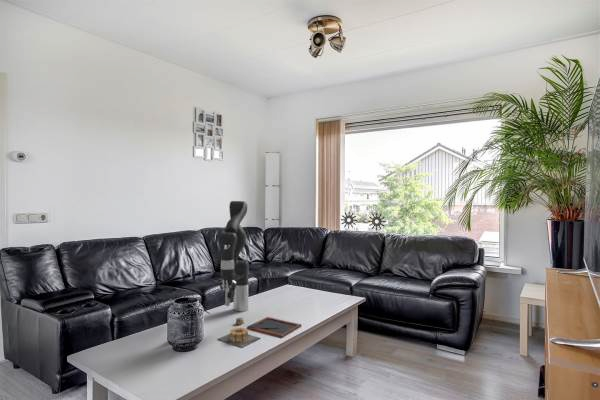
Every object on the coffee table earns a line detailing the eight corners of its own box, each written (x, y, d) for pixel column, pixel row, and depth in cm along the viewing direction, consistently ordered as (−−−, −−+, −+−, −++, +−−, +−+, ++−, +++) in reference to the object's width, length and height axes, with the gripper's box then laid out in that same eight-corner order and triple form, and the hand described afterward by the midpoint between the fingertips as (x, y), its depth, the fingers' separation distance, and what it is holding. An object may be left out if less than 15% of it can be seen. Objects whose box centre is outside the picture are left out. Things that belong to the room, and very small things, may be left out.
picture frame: (246, 329, 201) (282, 339, 188) (246, 326, 201) (282, 335, 188) (267, 319, 218) (301, 327, 204) (267, 316, 218) (301, 324, 204)
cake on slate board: (217, 339, 185) (217, 331, 185) (236, 331, 196) (236, 323, 196) (242, 347, 175) (242, 339, 175) (260, 338, 186) (260, 330, 186)
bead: (234, 324, 208) (234, 319, 208) (239, 322, 212) (239, 317, 212) (239, 325, 206) (239, 320, 206) (245, 323, 209) (245, 318, 209)
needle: (224, 305, 197) (224, 284, 197) (227, 304, 199) (227, 283, 199) (227, 306, 196) (227, 285, 196) (230, 305, 198) (230, 284, 198)
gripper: (214, 267, 198) (214, 297, 198) (231, 270, 190) (231, 301, 191) (223, 265, 204) (223, 294, 205) (241, 267, 197) (241, 298, 197)
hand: (227, 297), depth 198 cm, fingers closed on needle, 2 cm apart
